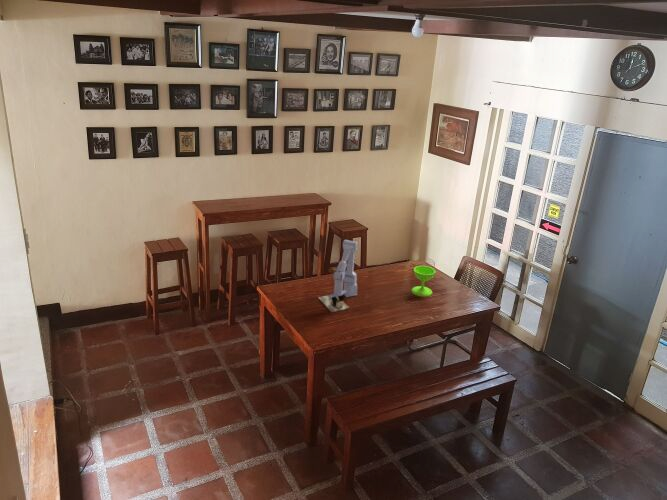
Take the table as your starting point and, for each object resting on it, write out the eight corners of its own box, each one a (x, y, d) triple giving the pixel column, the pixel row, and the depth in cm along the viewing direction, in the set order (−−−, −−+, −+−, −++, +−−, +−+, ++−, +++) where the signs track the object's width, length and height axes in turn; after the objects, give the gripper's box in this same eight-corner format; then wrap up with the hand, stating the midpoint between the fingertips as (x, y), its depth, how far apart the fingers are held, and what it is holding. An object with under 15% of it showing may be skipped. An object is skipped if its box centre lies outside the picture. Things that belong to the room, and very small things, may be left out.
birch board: (335, 295, 390) (335, 293, 389) (349, 308, 372) (349, 307, 371) (318, 298, 384) (318, 297, 384) (331, 312, 366) (331, 310, 365)
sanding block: (330, 304, 374) (331, 299, 373) (335, 302, 377) (336, 297, 375) (337, 308, 369) (338, 303, 367) (342, 307, 371) (343, 302, 370)
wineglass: (436, 294, 399) (439, 273, 392) (418, 297, 393) (420, 275, 386) (425, 285, 412) (428, 264, 405) (407, 288, 407) (410, 267, 400)
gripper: (342, 282, 374) (341, 299, 379) (326, 287, 365) (325, 305, 370) (349, 286, 369) (348, 303, 374) (332, 291, 360) (331, 309, 365)
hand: (337, 304), depth 372 cm, fingers closed on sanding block, 4 cm apart
